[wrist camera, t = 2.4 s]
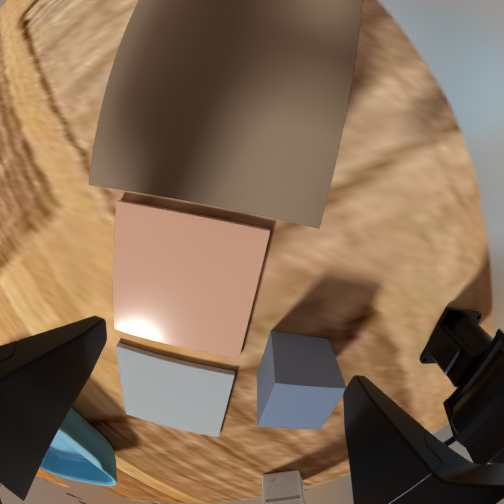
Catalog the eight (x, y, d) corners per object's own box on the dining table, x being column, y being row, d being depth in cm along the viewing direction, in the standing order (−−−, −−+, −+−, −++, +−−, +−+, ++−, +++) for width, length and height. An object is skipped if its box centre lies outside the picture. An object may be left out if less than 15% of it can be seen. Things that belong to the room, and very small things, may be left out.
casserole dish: (41, 347, 23) (10, 383, 17) (154, 456, 29) (143, 493, 23) (-15, 383, 29) (-31, 401, 22) (52, 452, 35) (41, 472, 28)
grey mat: (235, 371, 23) (234, 375, 22) (218, 433, 26) (218, 437, 25) (118, 342, 22) (116, 346, 21) (127, 410, 25) (126, 414, 25)
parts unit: (338, 50, 14) (398, -20, 5) (301, 221, 18) (346, 279, 9) (186, 24, 14) (142, -55, 4) (146, 190, 18) (57, 219, 8)
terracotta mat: (269, 228, 19) (270, 231, 18) (239, 354, 22) (238, 359, 21) (120, 200, 18) (116, 201, 17) (117, 325, 21) (114, 328, 21)
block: (328, 338, 21) (346, 388, 16) (309, 379, 23) (320, 429, 17) (270, 330, 21) (275, 382, 15) (257, 373, 23) (257, 425, 17)
